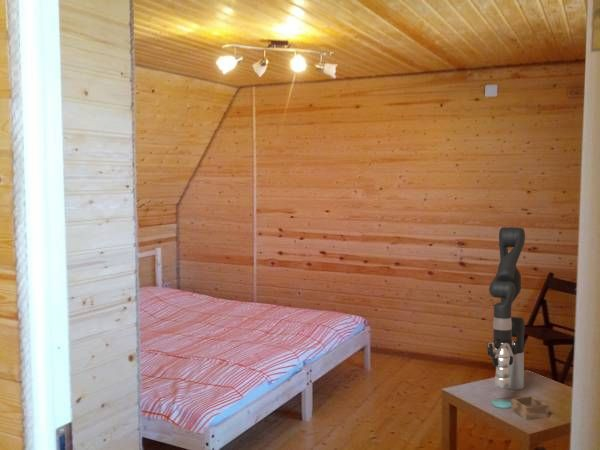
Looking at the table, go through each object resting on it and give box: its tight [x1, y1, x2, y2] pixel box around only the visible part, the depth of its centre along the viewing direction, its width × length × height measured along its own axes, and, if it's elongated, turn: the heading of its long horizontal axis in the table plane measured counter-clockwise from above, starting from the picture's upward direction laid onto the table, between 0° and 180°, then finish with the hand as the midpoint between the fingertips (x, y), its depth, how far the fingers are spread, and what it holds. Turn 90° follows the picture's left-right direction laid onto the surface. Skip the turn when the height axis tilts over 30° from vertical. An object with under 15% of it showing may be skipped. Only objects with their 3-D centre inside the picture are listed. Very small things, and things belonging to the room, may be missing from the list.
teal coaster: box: [491, 397, 511, 410], centre depth 261 cm, size 9×9×1 cm
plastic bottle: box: [494, 342, 511, 389], centre depth 260 cm, size 6×7×20 cm
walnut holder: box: [510, 395, 549, 421], centre depth 251 cm, size 11×10×5 cm
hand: (502, 365), depth 260 cm, fingers closed on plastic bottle, 6 cm apart
